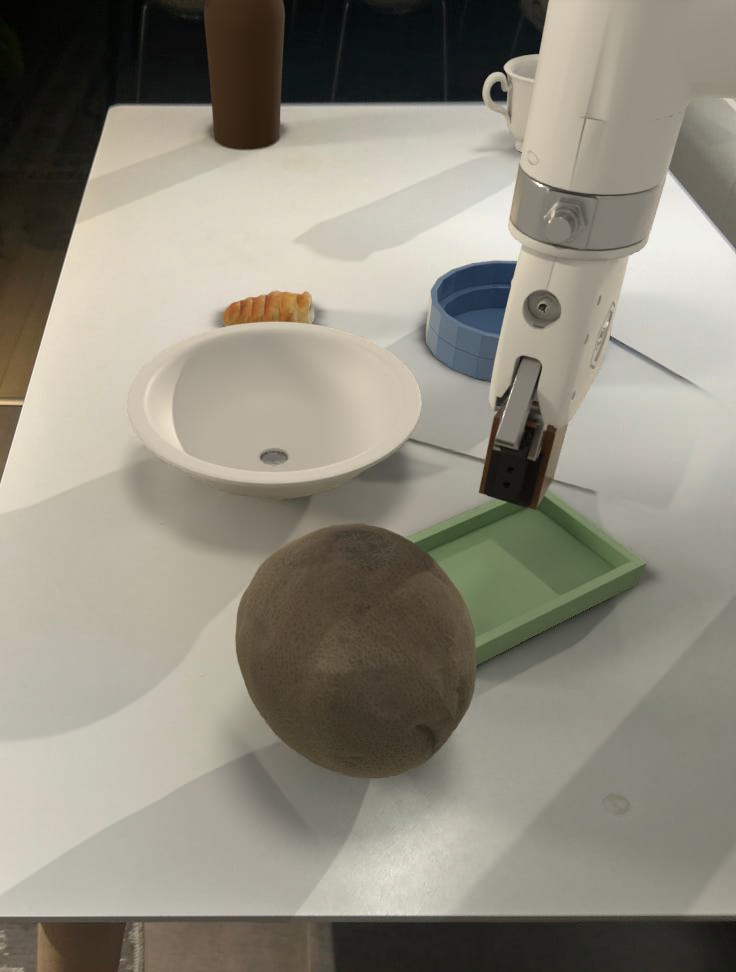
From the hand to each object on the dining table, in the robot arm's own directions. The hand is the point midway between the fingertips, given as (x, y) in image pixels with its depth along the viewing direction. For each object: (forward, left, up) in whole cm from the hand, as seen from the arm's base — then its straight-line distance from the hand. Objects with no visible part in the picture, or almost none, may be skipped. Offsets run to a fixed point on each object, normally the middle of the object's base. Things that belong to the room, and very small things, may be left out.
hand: (519, 477), depth 64 cm
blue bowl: (-24, -26, -10) cm, 37 cm away
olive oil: (-32, -90, -10) cm, 96 cm away
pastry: (-6, -41, -10) cm, 43 cm away
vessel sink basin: (+6, -22, -10) cm, 25 cm away
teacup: (-62, -65, -10) cm, 90 cm away
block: (0, 0, -1) cm, 1 cm away
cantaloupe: (+18, +6, -10) cm, 21 cm away
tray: (0, 0, -10) cm, 10 cm away
